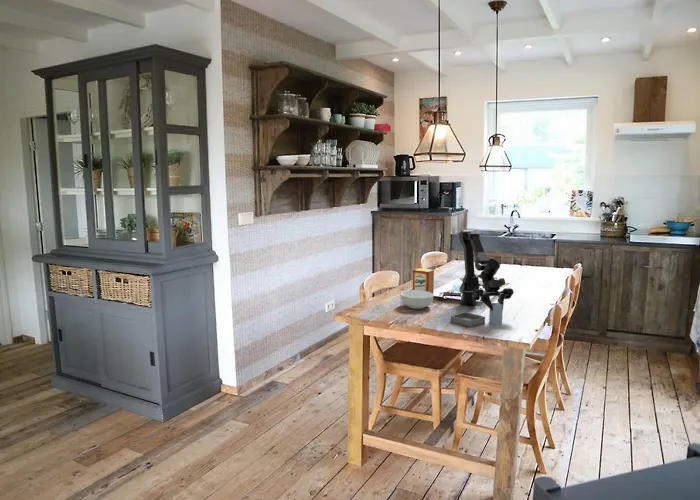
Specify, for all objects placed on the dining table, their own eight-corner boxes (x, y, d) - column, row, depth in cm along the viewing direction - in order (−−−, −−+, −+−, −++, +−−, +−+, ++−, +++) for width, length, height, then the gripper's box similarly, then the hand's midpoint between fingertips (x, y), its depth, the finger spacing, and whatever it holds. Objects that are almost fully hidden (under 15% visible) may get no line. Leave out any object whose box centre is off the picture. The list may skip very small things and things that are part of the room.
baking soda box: (412, 297, 293) (412, 269, 290) (418, 295, 298) (418, 267, 295) (427, 300, 287) (428, 271, 285) (433, 297, 292) (433, 269, 290)
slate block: (489, 321, 247) (490, 303, 246) (498, 321, 248) (499, 302, 247) (492, 324, 243) (493, 305, 242) (501, 323, 244) (502, 305, 243)
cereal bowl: (405, 312, 264) (406, 298, 262) (396, 303, 280) (396, 290, 279) (438, 310, 267) (438, 296, 266) (426, 302, 283) (427, 289, 282)
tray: (450, 322, 247) (450, 315, 246) (465, 317, 254) (465, 311, 254) (470, 327, 238) (470, 321, 238) (484, 322, 246) (485, 316, 245)
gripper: (475, 272, 244) (483, 301, 235) (513, 271, 247) (522, 300, 238) (468, 285, 253) (476, 314, 244) (504, 284, 256) (514, 312, 247)
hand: (497, 309), depth 243 cm, fingers closed on slate block, 4 cm apart
